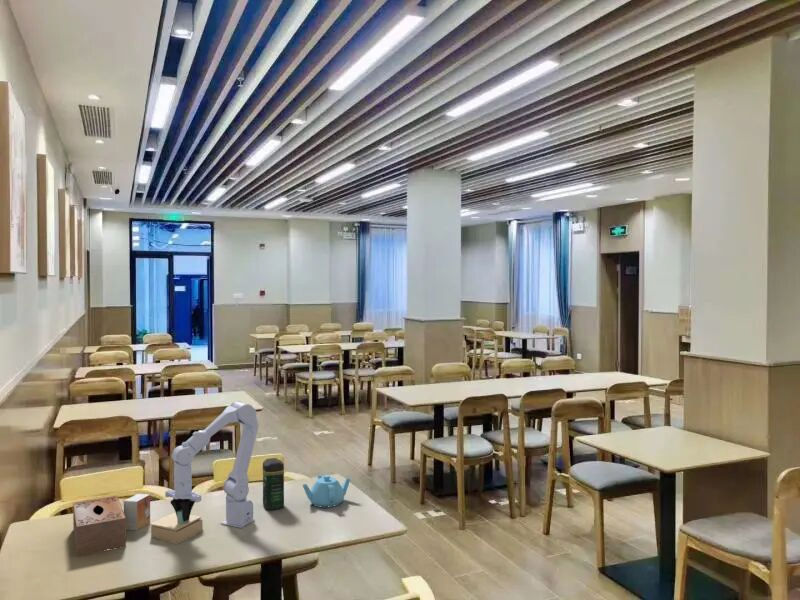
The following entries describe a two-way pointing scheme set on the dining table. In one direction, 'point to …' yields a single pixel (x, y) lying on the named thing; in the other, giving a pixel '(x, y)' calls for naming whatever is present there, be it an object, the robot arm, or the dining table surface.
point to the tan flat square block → (174, 521)
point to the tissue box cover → (98, 525)
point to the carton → (177, 532)
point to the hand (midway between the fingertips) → (183, 519)
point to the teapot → (326, 491)
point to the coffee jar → (273, 483)
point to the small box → (137, 511)
